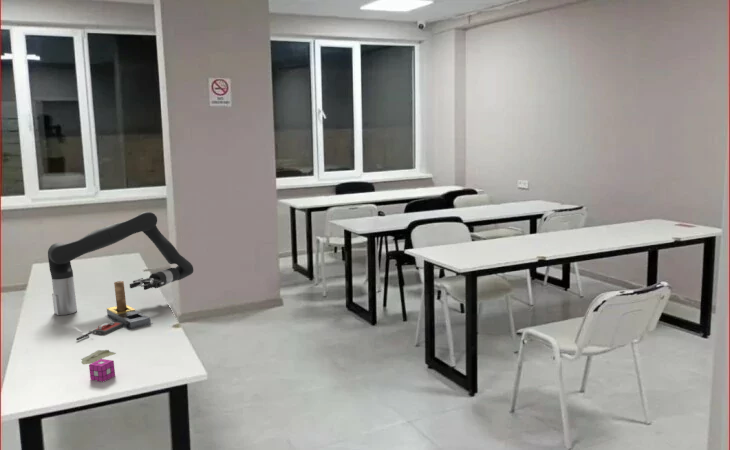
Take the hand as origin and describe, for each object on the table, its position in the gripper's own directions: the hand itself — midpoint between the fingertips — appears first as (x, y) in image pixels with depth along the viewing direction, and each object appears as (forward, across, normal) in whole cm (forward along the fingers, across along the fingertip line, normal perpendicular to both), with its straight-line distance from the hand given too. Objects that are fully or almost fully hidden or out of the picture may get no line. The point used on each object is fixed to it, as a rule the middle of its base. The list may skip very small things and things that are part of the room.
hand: (137, 287), depth 288 cm
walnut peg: (+10, 0, +11) cm, 15 cm away
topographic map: (+52, +29, +13) cm, 61 cm away
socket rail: (+14, +6, +12) cm, 19 cm away
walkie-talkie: (+30, +7, +13) cm, 34 cm away
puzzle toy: (+65, +44, +12) cm, 79 cm away
